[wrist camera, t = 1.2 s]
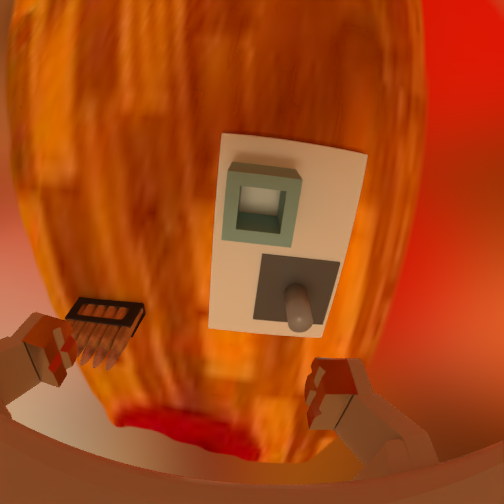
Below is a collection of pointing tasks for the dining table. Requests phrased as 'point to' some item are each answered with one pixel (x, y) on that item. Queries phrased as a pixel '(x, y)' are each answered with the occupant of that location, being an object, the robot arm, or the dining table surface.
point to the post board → (303, 244)
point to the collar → (260, 225)
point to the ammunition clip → (103, 327)
